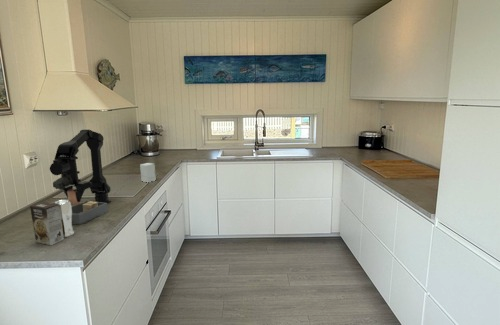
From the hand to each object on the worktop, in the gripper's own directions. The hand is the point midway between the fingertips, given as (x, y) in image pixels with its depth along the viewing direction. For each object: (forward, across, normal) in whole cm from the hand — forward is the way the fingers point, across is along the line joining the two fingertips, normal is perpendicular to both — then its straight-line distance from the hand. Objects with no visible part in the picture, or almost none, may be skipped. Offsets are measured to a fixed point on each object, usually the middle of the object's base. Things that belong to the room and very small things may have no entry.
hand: (74, 201), depth 153 cm
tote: (+10, 0, +4) cm, 11 cm away
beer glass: (+10, +10, -15) cm, 20 cm away
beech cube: (+9, 0, +9) cm, 13 cm away
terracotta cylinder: (+1, 0, 0) cm, 1 cm away
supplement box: (+10, -12, +72) cm, 74 cm away
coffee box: (+10, +8, -22) cm, 25 cm away
